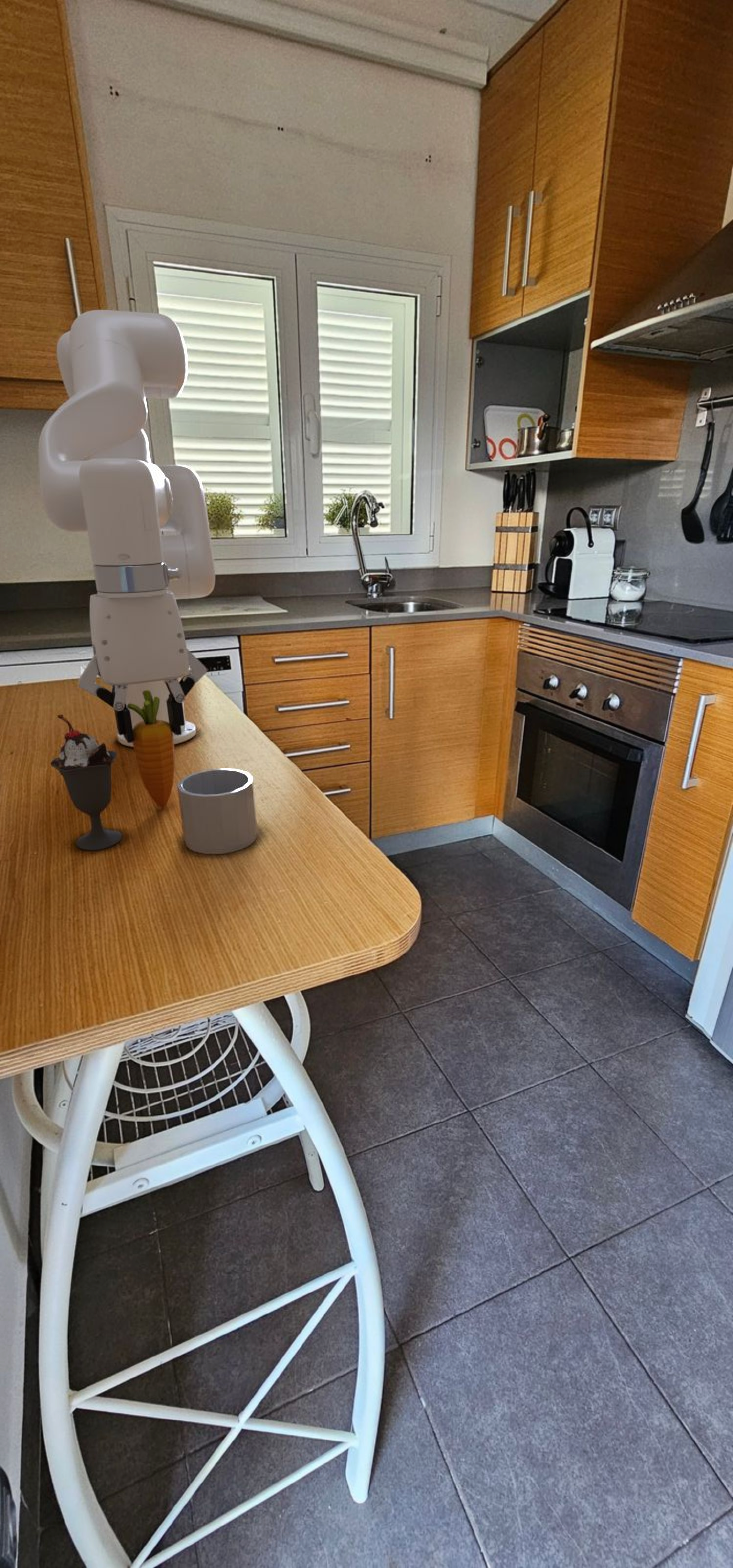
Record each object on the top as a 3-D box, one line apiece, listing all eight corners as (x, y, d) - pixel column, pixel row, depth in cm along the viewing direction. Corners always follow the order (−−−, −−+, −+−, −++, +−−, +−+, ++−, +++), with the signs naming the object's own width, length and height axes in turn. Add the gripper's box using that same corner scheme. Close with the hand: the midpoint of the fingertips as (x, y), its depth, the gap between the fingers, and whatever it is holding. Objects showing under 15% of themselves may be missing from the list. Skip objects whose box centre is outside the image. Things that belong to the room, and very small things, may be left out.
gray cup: (177, 831, 80) (169, 776, 77) (243, 817, 83) (239, 763, 81) (195, 861, 73) (188, 801, 70) (267, 843, 77) (263, 786, 74)
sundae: (66, 834, 79) (42, 711, 74) (126, 824, 82) (107, 703, 76) (68, 859, 74) (41, 727, 68) (132, 847, 76) (111, 719, 71)
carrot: (171, 817, 84) (156, 699, 78) (134, 814, 84) (116, 697, 79) (189, 801, 88) (175, 688, 82) (154, 798, 89) (138, 687, 83)
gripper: (197, 574, 82) (212, 718, 89) (45, 582, 75) (74, 738, 82) (215, 579, 76) (229, 733, 83) (52, 589, 69) (82, 757, 76)
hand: (152, 734), depth 83 cm, fingers closed on carrot, 5 cm apart
